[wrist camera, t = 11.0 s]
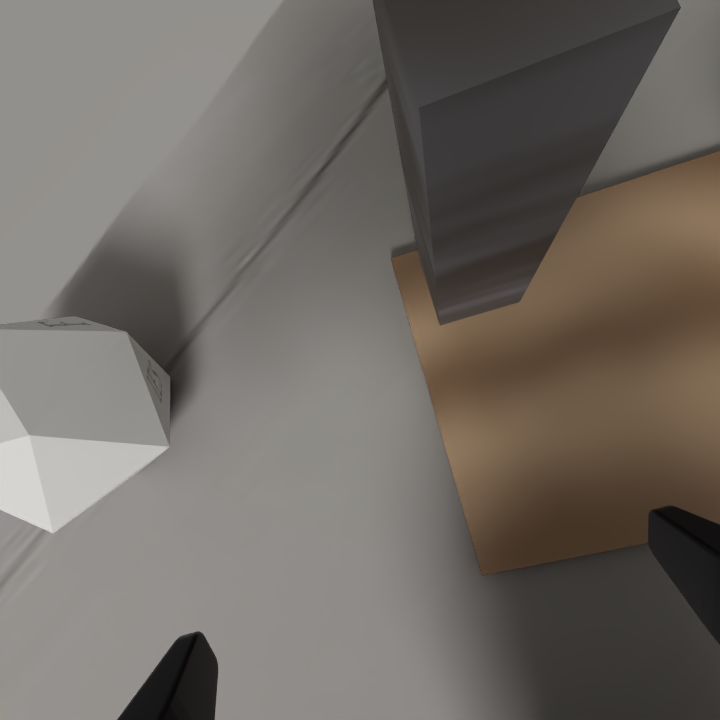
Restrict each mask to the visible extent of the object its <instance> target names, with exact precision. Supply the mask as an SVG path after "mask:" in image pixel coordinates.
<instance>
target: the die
mask: <svg viewBox="0 0 720 720" xmlns="http://www.w3.org/2000/svg"><path fill="white" fill-rule="evenodd" d="M169 447H170V376H169V375H168V374H167V373H166V372H165V371H164V370H163V369H162V368H161V367H160V366H159V365H158V364H157V363H156V362H155V361H154V360H153V359H152V358H151V357H150V356H149V355H148V354H147V353H146V351H145V350H144V349H143V348H142V347H141V346H140V345H139V344H138V343H137V342H136V341H135V340H134V339H133V338H132V337H131V336H130V335H129V334H128V333H127V332H125V331H122V330H119V329H116V328H112V327H109V326H106V325H103V324H99V323H96V322H93V321H90V320H86V319H83V318H80V317H76V316H70V317H61V318H53V319H44V320H35V321H27V322H18V323H9V324H0V510H2V511H4V512H7V513H9V514H11V515H13V516H16V517H18V518H20V519H22V520H25V521H27V522H29V523H31V524H34V525H36V526H38V527H40V528H43V529H45V530H47V531H49V532H52V533H54V532H56V531H57V530H58V529H60V528H61V527H63V526H64V525H65V524H67V523H68V522H69V521H71V520H72V519H74V518H75V517H76V516H78V515H79V514H81V513H82V512H83V511H85V510H86V509H88V508H89V507H90V506H92V505H93V504H95V503H96V502H97V501H99V500H100V499H102V498H103V497H104V496H106V495H107V494H109V493H110V492H111V491H113V490H114V489H116V488H117V487H118V486H120V485H121V484H123V483H124V482H125V481H127V480H128V479H130V478H131V477H132V476H134V475H135V474H137V473H138V472H139V471H140V470H142V469H143V468H144V467H145V466H147V465H148V464H149V463H150V462H151V461H153V460H154V459H155V458H156V457H158V456H159V455H160V454H161V453H163V452H164V451H165V450H166V449H168V448H169Z"/></svg>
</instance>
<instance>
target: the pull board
mask: <svg viewBox="0 0 720 720" xmlns="http://www.w3.org/2000/svg"><path fill="white" fill-rule="evenodd" d="M373 5H374V11H375V16H376V22H377V27H378V33H379V38H380V44H381V50H382V55H383V61H384V66H385V72H386V77H387V83H388V88H389V94H390V100H391V105H392V111H393V116H394V122H395V127H396V133H397V139H398V144H399V150H400V155H401V161H402V166H403V172H404V177H405V183H406V189H407V194H408V200H409V205H410V211H411V216H412V222H413V228H414V233H415V239H416V244H417V250H416V251H413V252H410V253H407V254H403V255H400V256H397V257H394V258H391V261H392V264H393V268H394V271H395V274H396V278H397V281H398V285H399V288H400V292H401V295H402V299H403V302H404V306H405V309H406V313H407V316H408V320H409V323H410V327H411V330H412V334H413V337H414V341H415V344H416V348H417V351H418V355H419V358H420V362H421V365H422V369H423V372H424V375H425V379H426V382H427V386H428V389H429V393H430V396H431V400H432V403H433V407H434V410H435V414H436V417H437V421H438V424H439V428H440V431H441V435H442V438H443V442H444V445H445V449H446V452H447V456H448V459H449V463H450V466H451V469H452V473H453V476H454V480H455V483H456V487H457V490H458V494H459V497H460V501H461V504H462V508H463V511H464V515H465V518H466V522H467V525H468V529H469V532H470V536H471V539H472V543H473V546H474V550H475V553H476V557H477V560H478V564H479V567H480V570H481V574H482V576H484V575H489V574H494V573H499V572H504V571H509V570H514V569H519V568H524V567H529V566H535V565H540V564H545V563H550V562H555V561H560V560H565V559H570V558H575V557H580V556H585V555H590V554H595V553H600V552H606V551H611V550H616V549H621V548H626V547H631V546H636V545H641V544H646V543H648V514H649V512H650V510H652V509H655V508H659V507H663V506H667V505H672V506H676V507H679V508H681V509H684V510H686V511H688V512H691V513H693V514H696V515H698V516H701V517H703V518H706V519H708V520H711V521H713V522H716V523H718V524H720V151H717V152H714V153H711V154H708V155H705V156H702V157H699V158H696V159H693V160H690V161H687V162H684V163H681V164H678V165H675V166H672V167H668V168H665V169H662V170H659V171H656V172H653V173H650V174H647V175H644V176H641V177H638V178H635V179H632V180H629V181H626V182H623V183H620V184H617V185H614V186H611V187H608V188H605V189H601V190H598V191H595V192H592V193H589V194H586V195H583V196H580V197H577V196H578V194H579V193H580V191H581V189H582V187H583V185H584V183H585V182H586V180H587V178H588V176H589V174H590V172H591V171H592V169H593V167H594V165H595V163H596V161H597V160H598V158H599V156H600V154H601V152H602V151H603V149H604V147H605V145H606V143H607V141H608V140H609V138H610V136H611V134H612V132H613V130H614V129H615V127H616V125H617V123H618V121H619V119H620V118H621V116H622V114H623V112H624V110H625V108H626V107H627V105H628V103H629V101H630V99H631V97H632V96H633V94H634V92H635V90H636V88H637V86H638V85H639V83H640V81H641V79H642V77H643V76H644V74H645V72H646V70H647V68H648V66H649V65H650V63H651V61H652V59H653V57H654V55H655V54H656V52H657V50H658V48H659V46H660V44H661V43H662V41H663V39H664V37H665V35H666V33H667V32H668V30H669V28H670V26H671V24H672V22H673V21H674V19H675V17H676V15H677V13H678V11H679V10H680V8H681V7H680V5H679V3H678V1H677V0H373Z"/></svg>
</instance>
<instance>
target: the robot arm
mask: <svg viewBox="0 0 720 720" xmlns="http://www.w3.org/2000/svg"><path fill="white" fill-rule="evenodd" d="M648 543H649V546H650V549H651V551H652V553H653V554H654V556H655V557H656V559H657V560H658V561H659V563H660V564H661V566H662V567H663V568H664V570H665V571H666V573H667V574H668V575H669V577H670V578H671V580H672V581H673V582H674V584H675V585H676V587H677V588H678V589H679V591H680V592H681V593H682V595H683V596H684V598H685V599H686V600H687V602H688V603H689V605H690V606H691V607H692V609H693V610H694V612H695V613H696V614H697V616H698V617H699V619H700V620H701V621H702V623H703V624H704V625H705V627H706V628H707V629H708V631H709V632H710V633H711V634H712V636H713V637H714V638H715V639H716V640H717V642H718V643H719V644H720V524H718V523H716V522H713V521H711V520H708V519H706V518H703V517H701V516H698V515H696V514H693V513H691V512H688V511H686V510H684V509H681V508H679V507H676V506H672V505H667V506H663V507H659V508H655V509H652V510H650V512H649V514H648ZM217 680H218V663H217V659H216V656H215V655H214V653H213V651H212V649H211V647H210V645H209V644H208V642H207V640H206V638H205V636H204V635H203V633H201V632H194V633H190V634H186V635H183V636H180V637H179V638H178V639H177V640H176V641H175V642H174V643H173V645H172V646H171V648H170V649H169V650H168V652H167V653H166V654H165V656H164V657H163V658H162V660H161V661H160V662H159V664H158V665H157V666H156V668H155V669H154V671H153V672H152V673H151V675H150V676H149V677H148V679H147V680H146V681H145V683H144V684H143V685H142V687H141V688H140V689H139V691H138V692H137V694H136V695H135V696H134V698H133V699H132V700H131V702H130V703H129V704H128V706H127V707H126V708H125V710H124V711H123V712H122V714H121V715H120V717H119V718H118V719H117V720H215V707H216V693H217Z"/></svg>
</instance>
